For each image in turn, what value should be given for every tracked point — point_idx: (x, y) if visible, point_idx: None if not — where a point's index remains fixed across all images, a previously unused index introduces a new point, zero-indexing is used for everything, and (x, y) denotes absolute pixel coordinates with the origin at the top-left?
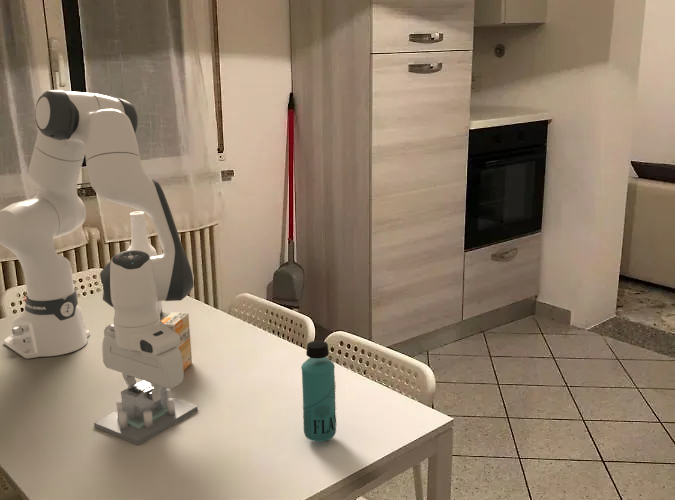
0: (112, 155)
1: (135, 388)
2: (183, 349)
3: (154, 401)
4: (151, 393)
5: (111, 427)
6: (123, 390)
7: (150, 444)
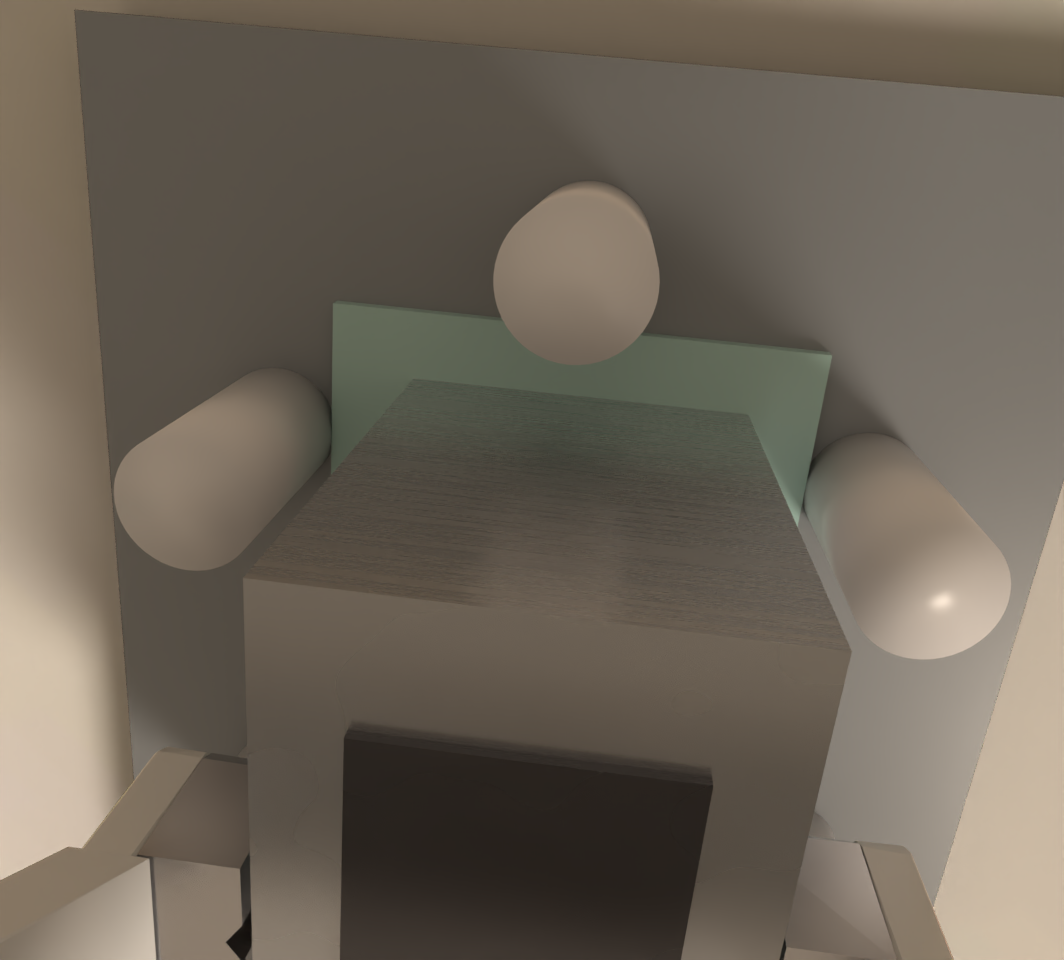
0: None
1: (590, 896)
2: None
3: (170, 748)
4: (138, 861)
5: (757, 125)
6: (831, 731)
7: (6, 128)
